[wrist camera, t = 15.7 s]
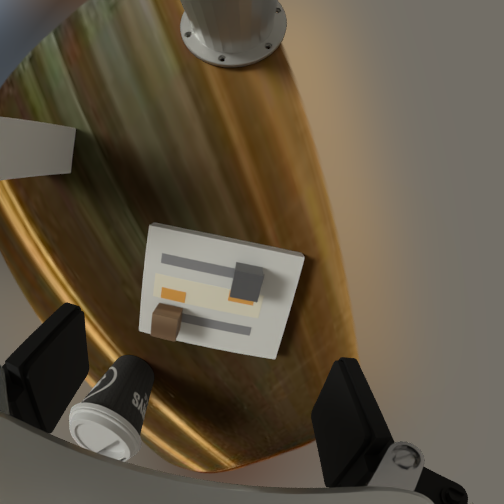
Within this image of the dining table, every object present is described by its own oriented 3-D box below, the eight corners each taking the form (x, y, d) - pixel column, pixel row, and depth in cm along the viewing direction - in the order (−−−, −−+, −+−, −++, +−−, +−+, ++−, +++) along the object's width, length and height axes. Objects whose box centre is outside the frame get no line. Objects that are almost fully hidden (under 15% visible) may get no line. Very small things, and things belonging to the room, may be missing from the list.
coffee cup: (126, 399, 43) (95, 466, 28) (95, 353, 41) (49, 416, 26) (175, 389, 42) (152, 465, 28) (144, 339, 40) (104, 410, 25)
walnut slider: (159, 302, 36) (152, 313, 33) (183, 308, 36) (177, 319, 33) (157, 323, 36) (150, 335, 34) (180, 329, 37) (175, 341, 34)
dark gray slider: (236, 262, 34) (235, 270, 32) (262, 267, 35) (263, 276, 32) (231, 286, 35) (229, 296, 32) (256, 291, 35) (257, 302, 32)
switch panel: (154, 222, 36) (149, 225, 34) (301, 252, 37) (304, 257, 35) (143, 323, 39) (138, 331, 37) (274, 351, 40) (275, 359, 38)
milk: (43, 129, 32) (-82, 119, 11) (77, 128, 32) (-55, 109, 11) (39, 172, 34) (-89, 189, 12) (71, 174, 34) (-63, 190, 12)
